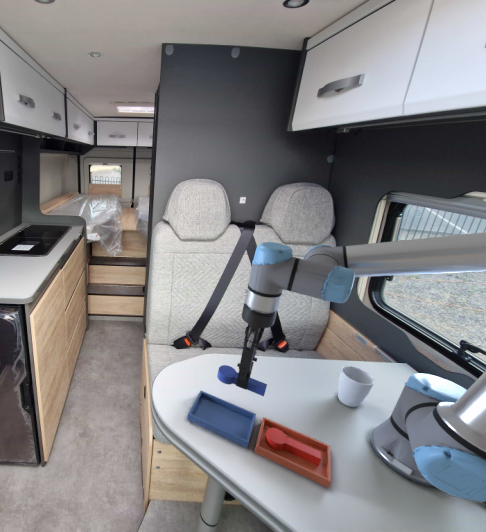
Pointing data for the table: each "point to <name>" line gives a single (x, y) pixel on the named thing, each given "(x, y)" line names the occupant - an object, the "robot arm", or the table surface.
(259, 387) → the blue spoon
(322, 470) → the red tray
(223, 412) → the blue tray
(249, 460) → the table surface
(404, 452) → the robot arm
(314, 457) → the red spoon
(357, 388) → the cup
